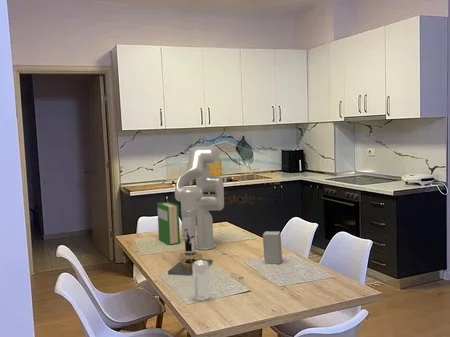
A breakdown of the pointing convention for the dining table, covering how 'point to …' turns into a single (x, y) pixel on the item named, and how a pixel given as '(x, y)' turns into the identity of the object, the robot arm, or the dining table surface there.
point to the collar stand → (186, 264)
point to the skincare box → (272, 247)
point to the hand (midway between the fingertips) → (190, 249)
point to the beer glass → (201, 279)
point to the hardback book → (168, 223)
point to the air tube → (191, 251)
